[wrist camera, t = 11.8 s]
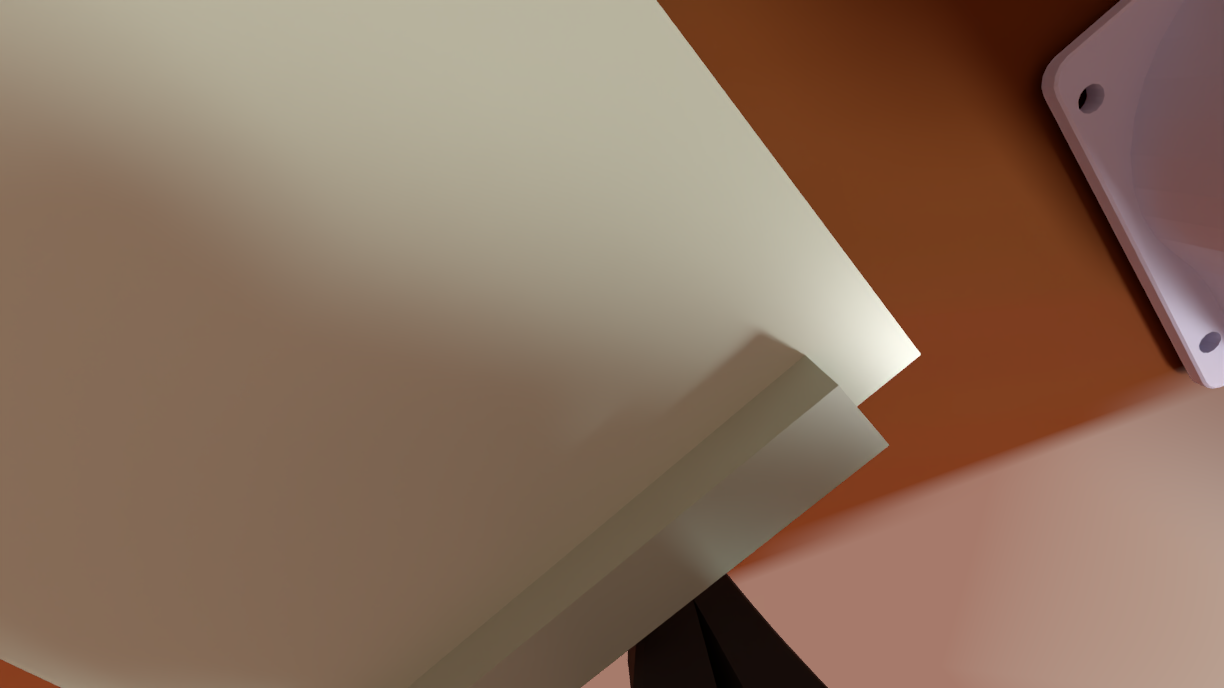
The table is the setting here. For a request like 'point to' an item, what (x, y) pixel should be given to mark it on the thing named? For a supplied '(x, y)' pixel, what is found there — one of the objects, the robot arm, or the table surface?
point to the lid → (396, 341)
